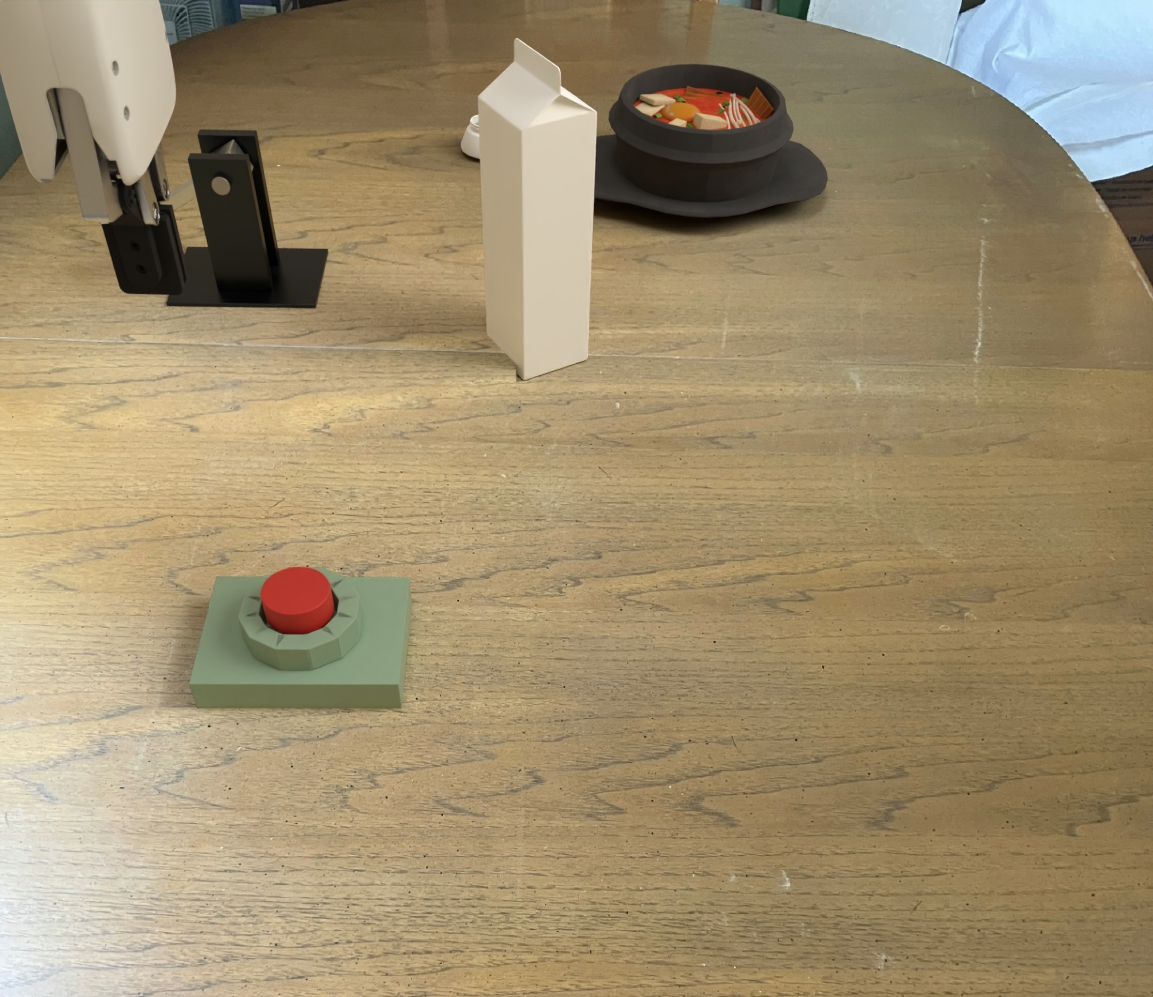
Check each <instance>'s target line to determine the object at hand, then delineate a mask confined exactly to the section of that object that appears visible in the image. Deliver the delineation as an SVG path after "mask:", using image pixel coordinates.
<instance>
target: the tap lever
mask: <svg viewBox="0 0 1153 997" xmlns="http://www.w3.org/2000/svg"><path fill="white" fill-rule="evenodd" d="M212 153H216V154H244V153H243V151H242V150H241V149H240V147H239V146H238V145H237V143H236V142H235V140H231V141H230V142H228V143H227V144H225V145H223V146H222V147H220V148H218V149H217V150H215V151H214V152H212ZM250 165H251V170H253V165H252V164H251V162H250ZM194 199H197V198H196V193H195V189H194V185H193V180H192V178H191V179H190V180H188V181H186V182H184V183H183V184H181V185H180V186H177V187H176V188H175V189H173V190H172V191H171V190H170V197H169V201H168V202H160V204H165V205H172V206H173V210H174V212H175V211H176V210H178V209H179V208H181V207H183V206H184V205H186V204H188V203H190V202H191V201H193V200H194Z"/></svg>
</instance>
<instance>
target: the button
mask: <svg viewBox="0 0 1153 997" xmlns="http://www.w3.org/2000/svg"><path fill="white" fill-rule="evenodd" d="M290 567H291V566H290ZM308 567H309V566H292V567H291V568H289V567H287V568H283V569H281V570H278V571H276V573H275V572H273V573H274V574H273V575H271V576H270V577H269V578H268V579H267V580H266V581H265V582H264V584H263V586H262V588H261V593H260V596H261V601H262V604H263V608H264V612H265V616H266V620H267V622H268V623H269V625H270V626H271V627H272V628H274V629H275V630H277V631H278V632H281V633H284V634H288V635H304V634H308V633H311V632H314V631H316V630H319V629H320V628H322V627H323V626H325V625H326V624H327V623H328V622H329V621H330V619H331V618H332V615H333V613H334V602H333V597H332V592H331V587H330V583H329V581H328V579H327V578H326V576H325V575H324V574H322V573H321V572H319V571H317V570H315V569H312V568H308Z"/></svg>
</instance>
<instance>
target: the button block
mask: <svg viewBox="0 0 1153 997" xmlns="http://www.w3.org/2000/svg"><path fill="white" fill-rule="evenodd" d="M307 567H308V568H312V569H315V570H317V571H319V572H321V573H322V574H324V575H325V576H326V578H327V579H328V581H329V583H330V587H331V592H332V597H333V602H334V613H333V615H332V618H331V619H330V621H329V622H328V623H327V624H326V625H325V626H323V627H322V628H320V629H319V630H316V631H314V632H311V633H308V634H304V635H288V634H284V633H281V632H278V631H277V630H275V629H274V628H272V627H271V626H270V625H269V623H268V622H267V620H266V616H265V612H264V608H263V604H262V601H261V596H260V593H261V588H262V586H263V584H264V582H265V581H266V580H267V579H268V578H269V577H270V576H271V575H273V574H274V573H276V572H277V571H276V572H273V573H269V574H267V575H264V576H263V575H261V576H259V575H258V576H257V575H256V576H255V575H254V576H253V575H251V576H250V575H248V576H247V575H246V576H245V575H239V576H237V575H235V576H234V575H233V576H232V575H216V576H215V580H214V584H213V588H212V592H211V596H210V600H209V604H208V606H207V611H206V615H205V619H204V622H203V626H202V631H201V635H200V639H199V643H198V646H197V651H196V654H195V658H194V662H193V666H192V670H191V673H190V678H189V682H188V686H189V688H190V691H191V694H192V698H193V700H194V703H195V705H196V708H197V709H403V702H404V692H405V681H406V672H407V659H408V651H409V640H410V630H411V619H412V610H413V597H412V596H413V595H412V588H411V579H410V577H409V576H344V575H342V574H339V573H337V572H335V571H332V570H330V569H327V568H326V567H321V566H307ZM288 568H291V566H289V567H288Z"/></svg>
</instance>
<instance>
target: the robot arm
mask: <svg viewBox="0 0 1153 997" xmlns="http://www.w3.org/2000/svg"><path fill="white" fill-rule="evenodd" d="M163 16H164V15H163V11H162V7H161V2H160V0H0V78H1V81H2V84H3V85H2V86H3V88H4V92H5V96H6V100H7V103H8V106H9V109H10V113H11V116H12V120H13V124H14V128H15V130H16V134H17V137H18V138H17V139H18V141H19V144H20V147H21V151H22V154H23V157H24V161H25V164H26V167H27V169H28V171H29V173H30V174H31V176H32V177H33V178H34V179H35V180H36V181H37V182H38V183H41V184H48V183H51V182H52V181H53V180H54V179H55V178H56V176H57V174H58V173H59V171H60V169H61V167H62V166H63V164H64V162H65V161H66V159H67V157H68V156H69V160H70V165H71V170H72V174H73V180H74V184H75V189H76V194H77V199H78V204H79V208H80V212H81V216H82V219H83V220H84V222H94V223H95V222H96V223H99V224H100V225H101V228H102V232H103V235H104V238H105V242H106V245H107V249H108V253H109V256H110V259H111V263H112V267H113V270H114V274H115V277H116V280H117V284H118V287H119V289H120V291H122V292H123V293H124V294H129V295H149V296H150V295H151V296H154V295H155V296H169V295H180V294H181V293H182V291H183V288H184V283H185V282H186V280H187V277H188V269H187V265H186V261H185V257H184V254H185V252H184V249H183V245H182V241H181V236H180V232H179V228H178V223H177V220H176V214H175V211H174V210H173V206H172V205H165V204H160V202H168V201H169V197H170V192H171V190H170V184H169V179H168V172H167V168H166V163H165V157H164V152H163V147H162V142H161V140H162V139H163V137H164V134H165V132H166V129H167V127H168V125H169V122H170V120H171V118H172V116H173V112H174V110H175V108H176V107H175V106H176V102H177V101H176V100H177V86H176V84H177V83H176V77H175V70H174V65H173V59H172V52H171V49H170V48H171V47H170V43H169V37H168V34H167V28H166V25H165V20H164V17H163Z"/></svg>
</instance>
